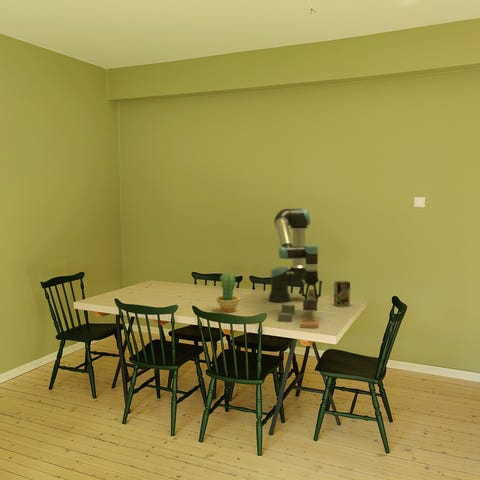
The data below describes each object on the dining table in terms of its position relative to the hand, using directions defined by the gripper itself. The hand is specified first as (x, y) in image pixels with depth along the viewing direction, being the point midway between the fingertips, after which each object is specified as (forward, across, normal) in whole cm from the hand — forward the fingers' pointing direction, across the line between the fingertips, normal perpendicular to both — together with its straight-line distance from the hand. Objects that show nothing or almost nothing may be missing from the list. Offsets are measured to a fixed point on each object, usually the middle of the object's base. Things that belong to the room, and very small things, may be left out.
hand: (311, 307), depth 288 cm
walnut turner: (-2, 0, 0) cm, 2 cm away
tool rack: (+6, -15, -1) cm, 16 cm away
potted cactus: (+6, -54, +7) cm, 55 cm away
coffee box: (+6, +19, +31) cm, 37 cm away
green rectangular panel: (+5, 0, -12) cm, 13 cm away
